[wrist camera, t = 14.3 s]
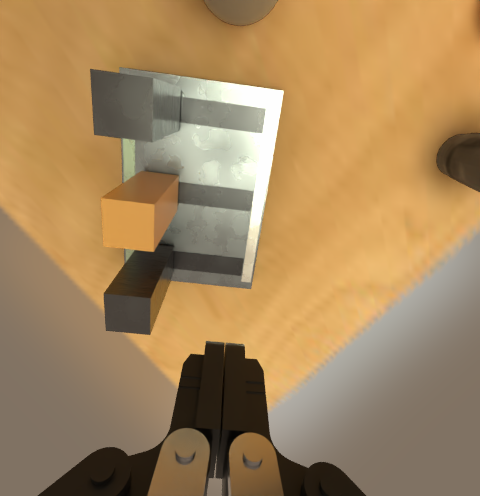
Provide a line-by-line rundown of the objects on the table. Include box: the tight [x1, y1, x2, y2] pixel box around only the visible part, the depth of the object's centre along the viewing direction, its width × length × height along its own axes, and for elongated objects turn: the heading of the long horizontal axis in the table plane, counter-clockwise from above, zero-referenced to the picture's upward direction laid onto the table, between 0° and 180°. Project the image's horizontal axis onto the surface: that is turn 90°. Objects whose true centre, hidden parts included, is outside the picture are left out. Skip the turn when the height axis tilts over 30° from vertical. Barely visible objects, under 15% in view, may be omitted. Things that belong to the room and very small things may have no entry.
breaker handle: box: [101, 171, 179, 252], centre depth 29 cm, size 4×4×11 cm
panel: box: [90, 67, 284, 335], centre depth 31 cm, size 23×16×13 cm
